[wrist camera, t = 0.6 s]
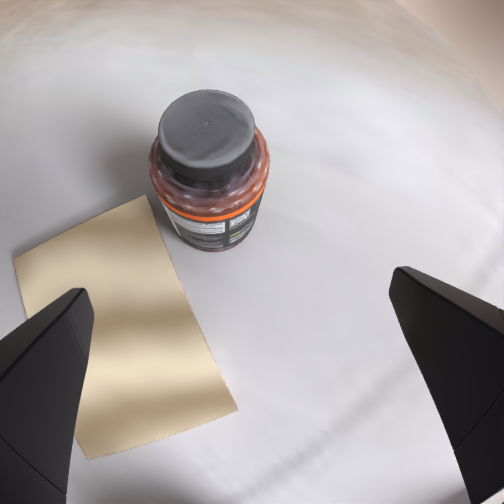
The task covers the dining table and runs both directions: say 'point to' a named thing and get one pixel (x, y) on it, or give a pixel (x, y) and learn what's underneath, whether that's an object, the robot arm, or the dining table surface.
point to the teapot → (496, 499)
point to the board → (129, 331)
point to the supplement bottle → (209, 168)
